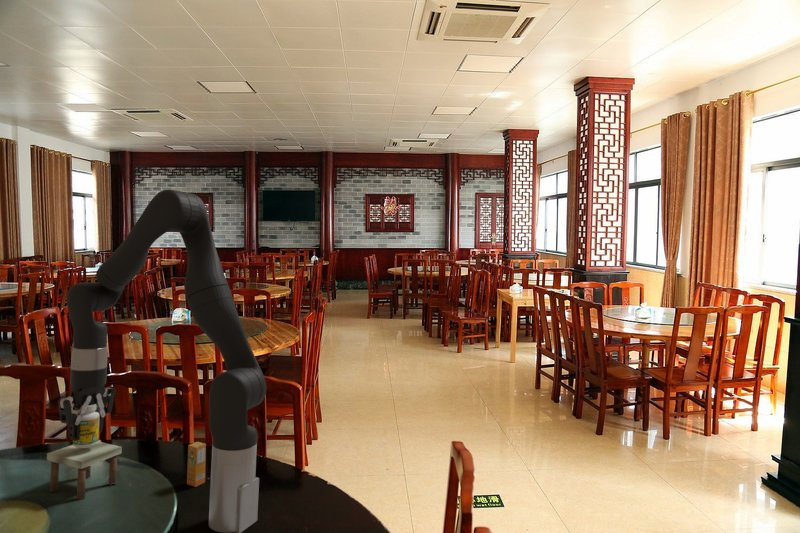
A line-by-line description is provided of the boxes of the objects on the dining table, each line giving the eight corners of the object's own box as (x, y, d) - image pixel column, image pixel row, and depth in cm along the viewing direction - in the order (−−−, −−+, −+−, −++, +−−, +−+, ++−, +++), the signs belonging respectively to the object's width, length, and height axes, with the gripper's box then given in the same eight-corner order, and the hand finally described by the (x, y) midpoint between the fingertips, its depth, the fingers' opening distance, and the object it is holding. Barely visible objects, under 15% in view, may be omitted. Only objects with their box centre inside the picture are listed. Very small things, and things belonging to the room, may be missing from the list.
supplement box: (185, 484, 134) (187, 444, 134) (196, 479, 137) (198, 440, 137) (194, 487, 133) (196, 447, 132) (205, 483, 136) (207, 443, 135)
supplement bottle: (97, 439, 133) (99, 400, 133) (99, 446, 129) (101, 406, 129) (71, 442, 130) (73, 402, 130) (73, 449, 126) (74, 408, 126)
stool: (120, 483, 133) (121, 446, 133) (79, 501, 123) (81, 461, 122) (87, 474, 137) (88, 439, 137) (45, 491, 126) (47, 453, 126)
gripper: (73, 373, 121) (70, 448, 121) (125, 362, 135) (123, 430, 135) (49, 369, 124) (46, 442, 124) (103, 359, 137) (100, 425, 137)
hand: (86, 435), depth 129 cm, fingers closed on supplement bottle, 5 cm apart
